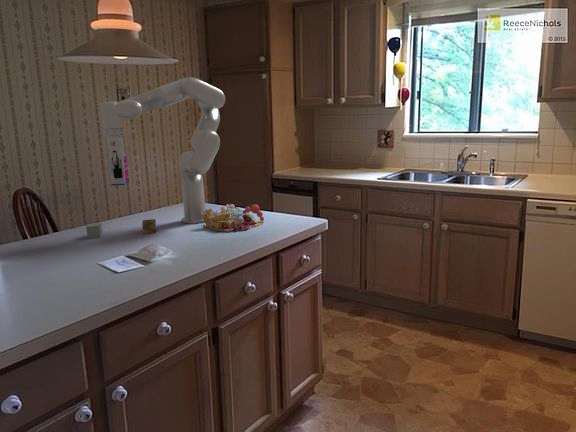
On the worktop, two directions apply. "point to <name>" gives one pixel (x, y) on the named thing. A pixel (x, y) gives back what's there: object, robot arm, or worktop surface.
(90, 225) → the slate block
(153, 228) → the walnut block
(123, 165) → the supplement box
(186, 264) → the worktop surface
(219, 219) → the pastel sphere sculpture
